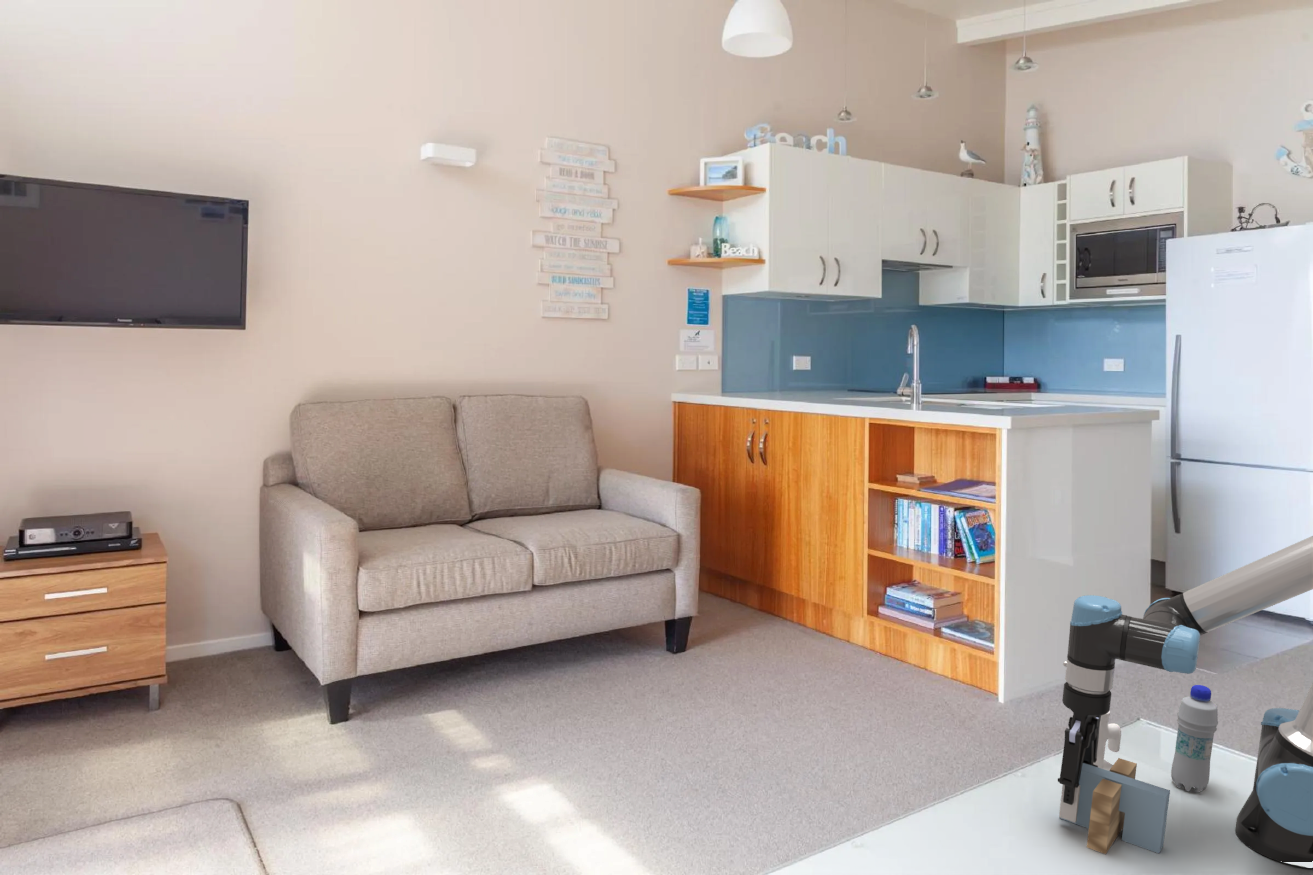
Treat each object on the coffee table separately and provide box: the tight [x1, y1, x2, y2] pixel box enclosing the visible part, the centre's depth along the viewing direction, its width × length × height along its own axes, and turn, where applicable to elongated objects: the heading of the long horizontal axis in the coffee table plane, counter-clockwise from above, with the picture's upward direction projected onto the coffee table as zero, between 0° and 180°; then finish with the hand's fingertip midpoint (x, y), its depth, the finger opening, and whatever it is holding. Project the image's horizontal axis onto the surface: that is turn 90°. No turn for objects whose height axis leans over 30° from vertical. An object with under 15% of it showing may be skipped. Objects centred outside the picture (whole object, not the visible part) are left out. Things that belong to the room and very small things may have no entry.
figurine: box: [1093, 710, 1122, 771], centre depth 183 cm, size 7×9×15 cm
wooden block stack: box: [1086, 757, 1138, 855], centre depth 167 cm, size 3×16×10 cm, turn 141°
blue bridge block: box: [1058, 763, 1171, 854], centre depth 167 cm, size 16×3×10 cm, turn 51°
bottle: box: [1170, 684, 1219, 793], centre depth 183 cm, size 7×7×20 cm
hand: (1073, 810), depth 171 cm, fingers open, 6 cm apart
